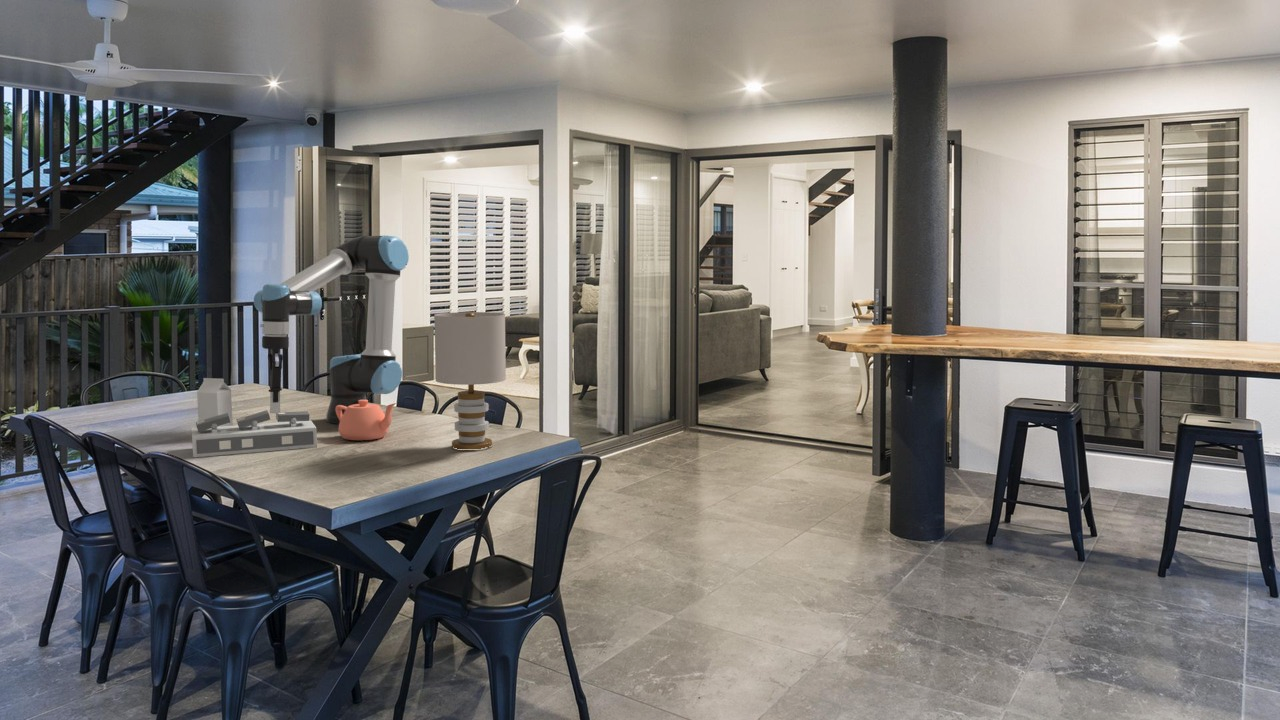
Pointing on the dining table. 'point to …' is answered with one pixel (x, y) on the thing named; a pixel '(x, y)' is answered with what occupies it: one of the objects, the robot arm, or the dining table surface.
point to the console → (254, 438)
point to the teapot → (363, 421)
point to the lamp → (470, 367)
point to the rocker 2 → (292, 416)
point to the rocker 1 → (213, 422)
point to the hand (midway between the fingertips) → (275, 412)
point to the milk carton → (214, 400)
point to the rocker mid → (253, 419)
